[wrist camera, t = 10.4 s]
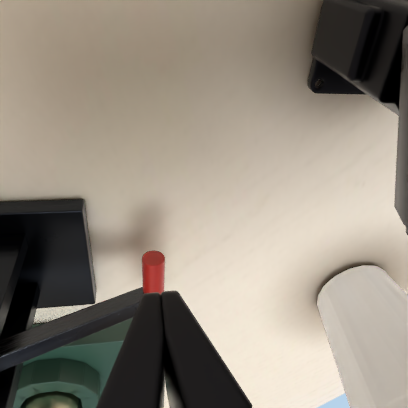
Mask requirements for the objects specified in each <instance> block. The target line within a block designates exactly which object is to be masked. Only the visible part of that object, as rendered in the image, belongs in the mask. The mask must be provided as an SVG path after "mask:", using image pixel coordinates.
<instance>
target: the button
mask: <svg viewBox="0 0 408 408" xmlns="http://www.w3.org/2000/svg"><path fill="white" fill-rule="evenodd" d="M78 403H79V400H78V397H77V396H75V395H73V394H72V393H66V392H59V391H53V392H44V393H38V394H35V395H33V396H31V397H29V398H28V400H27V402H26V406H25V408H78Z"/></svg>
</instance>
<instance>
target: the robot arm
mask: <svg viewBox="0 0 408 408" xmlns="http://www.w3.org/2000/svg"><path fill="white" fill-rule="evenodd" d="M311 53H312V55H313V57H314V58H313V62H312V66H311V71H310V75H309V79H308V87H309V88H310V89H311V90H312V91H313V92H314V93H327V94H367V95H369V96H370V97H372V98H373V99H375V100H376V101H378V102H379V103H381V104H382V105H384V106H385V107H387V108H388V109H390V110H391V111H393V112H394V113H396V114H397V115H398V116H399V121H398V141H397V161H396V181H395V208H396V210H397V212H398V214H399V216H400V218H401V220H402V222H403V224H404V225H405V226H406V233H407V235H408V0H323V4H322V8H321V12H320V17H319V21H318V26H317V30H316V34H315V39H314V43H313V47H312V52H311ZM319 79H321V83H320V84H319V85H318V86H315V83H316V81H317V80H319ZM165 383H166V389H167V395H168V400H169V406H170V408H252V404H251V403H250V401H249V400H248V398H247V397H246V395H245V393H244V392H243V390H242V389H241V387H240V386H239V384H238V383H237V381H236V380H235V378H234V377H233V375H232V374H231V372H230V370H229V369H228V367H227V366H226V364H225V363H224V361H223V360H222V358H221V357H220V355H219V354H218V352H217V351H216V349H215V348H214V346H213V344H212V343H211V341H210V340H209V338H208V337H207V335H206V334H205V332H204V331H203V329H202V328H201V326H200V325H199V323H198V322H197V320H196V318H195V317H194V315H193V314H192V312H191V311H190V309H189V308H188V306H187V305H186V303H185V302H184V300H183V299H182V297H181V296H180V294H179V293H178V292H177V291H165V292H162V293H161V296H160V293H158V292H153V293H145V294H143V296H142V297H141V300H140V302H139V305H138V307H137V310H136V312H135V314H134V317H133V319H132V322H131V324H130V327H129V329H128V331H127V334H126V336H125V339H124V341H123V343H122V346H121V348H120V351H119V353H118V356H117V358H116V360H115V363H114V365H113V368H112V370H111V372H110V375H109V377H108V380H107V382H106V385H105V387H104V389H103V392H102V394H101V397H100V399H99V401H98V404H97V406H96V408H164V387H165Z"/></svg>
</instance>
